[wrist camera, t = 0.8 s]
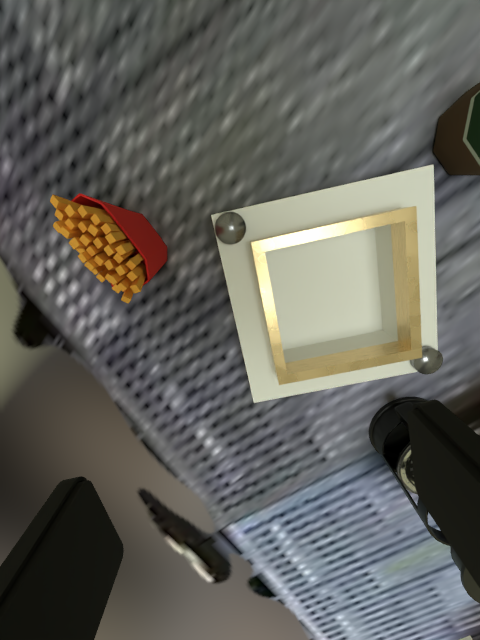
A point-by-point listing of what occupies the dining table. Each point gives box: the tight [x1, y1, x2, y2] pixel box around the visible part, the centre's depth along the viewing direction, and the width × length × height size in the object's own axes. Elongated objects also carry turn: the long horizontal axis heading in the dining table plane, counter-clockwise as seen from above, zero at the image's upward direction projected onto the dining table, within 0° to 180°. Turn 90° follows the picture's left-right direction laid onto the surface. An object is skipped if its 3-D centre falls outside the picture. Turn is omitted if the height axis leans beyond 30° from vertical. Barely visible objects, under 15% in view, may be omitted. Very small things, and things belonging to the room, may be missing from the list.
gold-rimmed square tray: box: [211, 164, 443, 403], centre depth 30 cm, size 20×20×6 cm
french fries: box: [50, 194, 167, 303], centre depth 26 cm, size 8×4×12 cm, turn 35°
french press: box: [369, 397, 480, 603], centre depth 28 cm, size 12×9×23 cm
